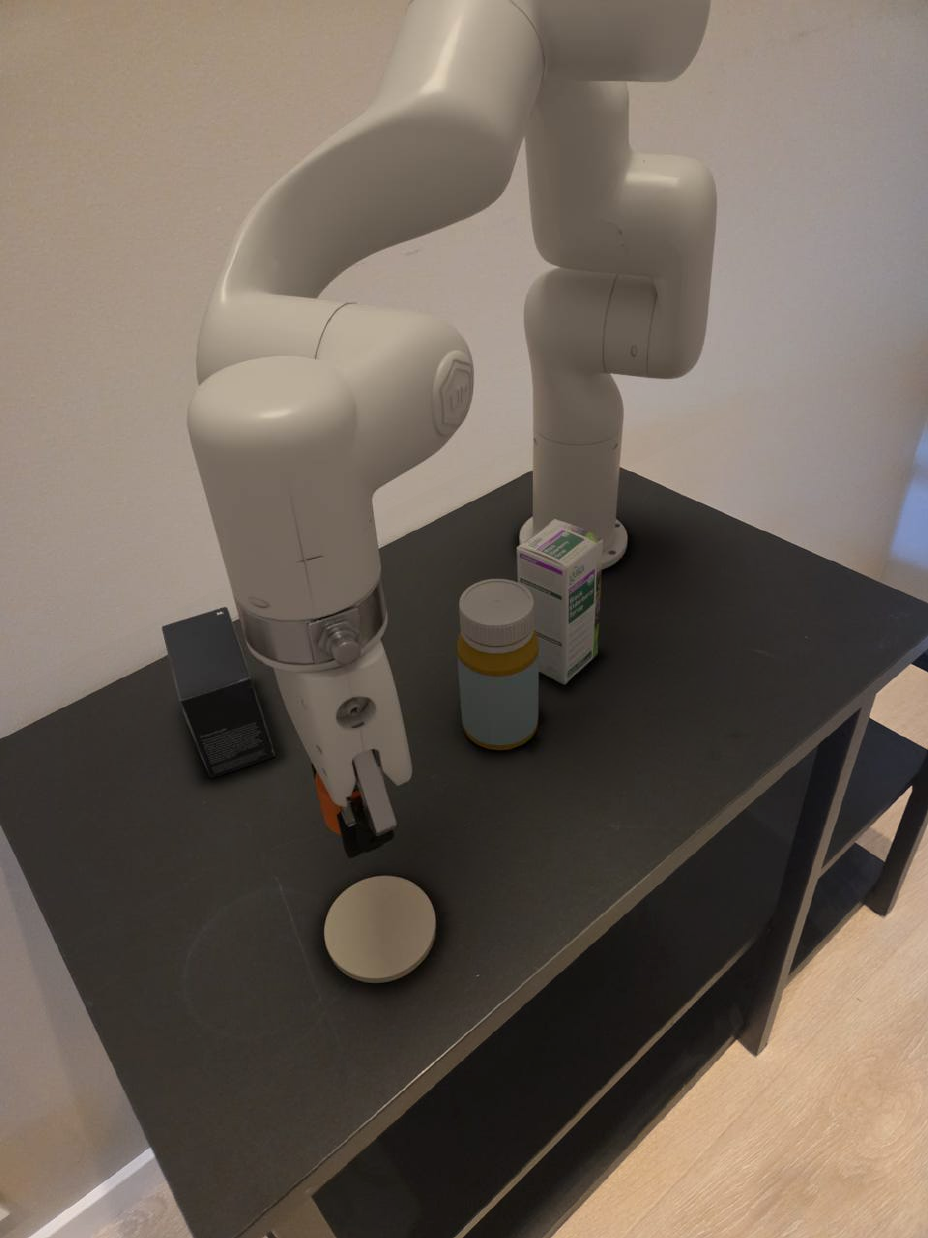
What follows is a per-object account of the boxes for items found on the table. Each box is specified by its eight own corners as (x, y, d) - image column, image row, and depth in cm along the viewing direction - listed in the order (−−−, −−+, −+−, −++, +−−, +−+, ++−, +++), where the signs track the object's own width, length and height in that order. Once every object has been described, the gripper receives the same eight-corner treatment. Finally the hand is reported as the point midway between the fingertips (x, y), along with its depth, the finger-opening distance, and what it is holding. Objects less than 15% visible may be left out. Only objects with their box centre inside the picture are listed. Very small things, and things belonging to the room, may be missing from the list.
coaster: (346, 873, 70) (344, 867, 69) (447, 890, 68) (447, 885, 67) (309, 971, 63) (307, 966, 63) (420, 993, 62) (419, 988, 61)
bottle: (532, 759, 78) (532, 633, 68) (455, 749, 79) (445, 624, 69) (542, 703, 83) (544, 579, 73) (470, 695, 84) (463, 572, 74)
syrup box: (565, 687, 84) (569, 567, 75) (517, 661, 87) (515, 543, 78) (598, 655, 88) (606, 537, 78) (551, 632, 91) (553, 515, 81)
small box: (187, 704, 85) (157, 623, 78) (252, 684, 87) (228, 603, 80) (206, 781, 77) (175, 699, 71) (278, 757, 79) (254, 675, 72)
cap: (329, 844, 54) (320, 806, 52) (318, 797, 57) (309, 760, 55) (390, 827, 55) (383, 789, 53) (376, 782, 58) (370, 744, 55)
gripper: (449, 674, 40) (466, 895, 52) (324, 507, 52) (361, 718, 64) (295, 733, 38) (350, 951, 50) (201, 544, 49) (263, 757, 61)
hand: (356, 818), depth 57 cm, fingers closed on cap, 3 cm apart
